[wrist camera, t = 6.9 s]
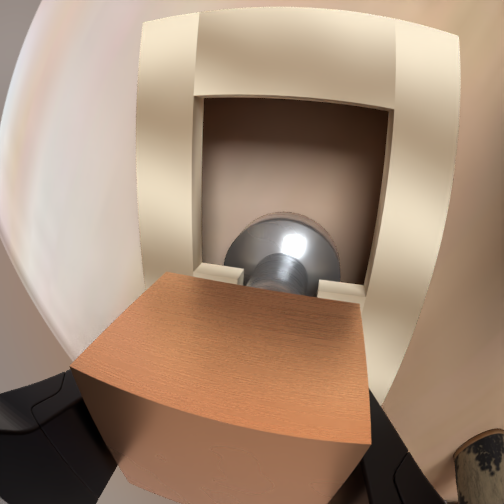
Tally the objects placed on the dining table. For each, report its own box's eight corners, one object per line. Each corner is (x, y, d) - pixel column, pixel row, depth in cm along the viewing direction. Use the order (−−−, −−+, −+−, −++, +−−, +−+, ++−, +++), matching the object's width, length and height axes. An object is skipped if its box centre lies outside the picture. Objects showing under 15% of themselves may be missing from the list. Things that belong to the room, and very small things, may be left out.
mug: (444, 466, 19) (451, 570, 8) (463, 436, 17) (480, 556, 6) (508, 449, 17) (526, 541, 6) (530, 417, 15) (560, 517, 4)
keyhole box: (180, 40, 12) (142, 22, 9) (430, 55, 10) (458, 35, 7) (186, 368, 20) (165, 403, 17) (362, 398, 18) (363, 440, 14)
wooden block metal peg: (348, 220, 13) (380, 440, 3) (328, 317, 15) (306, 530, 5) (235, 205, 14) (64, 360, 4) (231, 301, 16) (127, 482, 6)
